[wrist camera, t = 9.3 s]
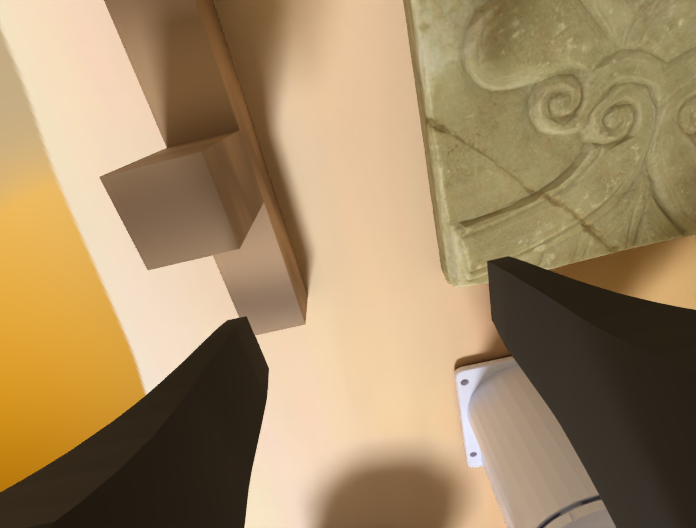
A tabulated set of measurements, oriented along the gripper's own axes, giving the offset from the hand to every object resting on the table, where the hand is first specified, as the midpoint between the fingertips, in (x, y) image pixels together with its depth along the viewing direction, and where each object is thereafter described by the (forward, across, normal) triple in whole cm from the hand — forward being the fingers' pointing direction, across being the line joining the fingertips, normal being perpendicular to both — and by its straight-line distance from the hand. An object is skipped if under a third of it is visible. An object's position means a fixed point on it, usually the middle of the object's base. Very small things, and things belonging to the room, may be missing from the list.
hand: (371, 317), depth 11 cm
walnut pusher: (+10, +5, -4) cm, 11 cm away
